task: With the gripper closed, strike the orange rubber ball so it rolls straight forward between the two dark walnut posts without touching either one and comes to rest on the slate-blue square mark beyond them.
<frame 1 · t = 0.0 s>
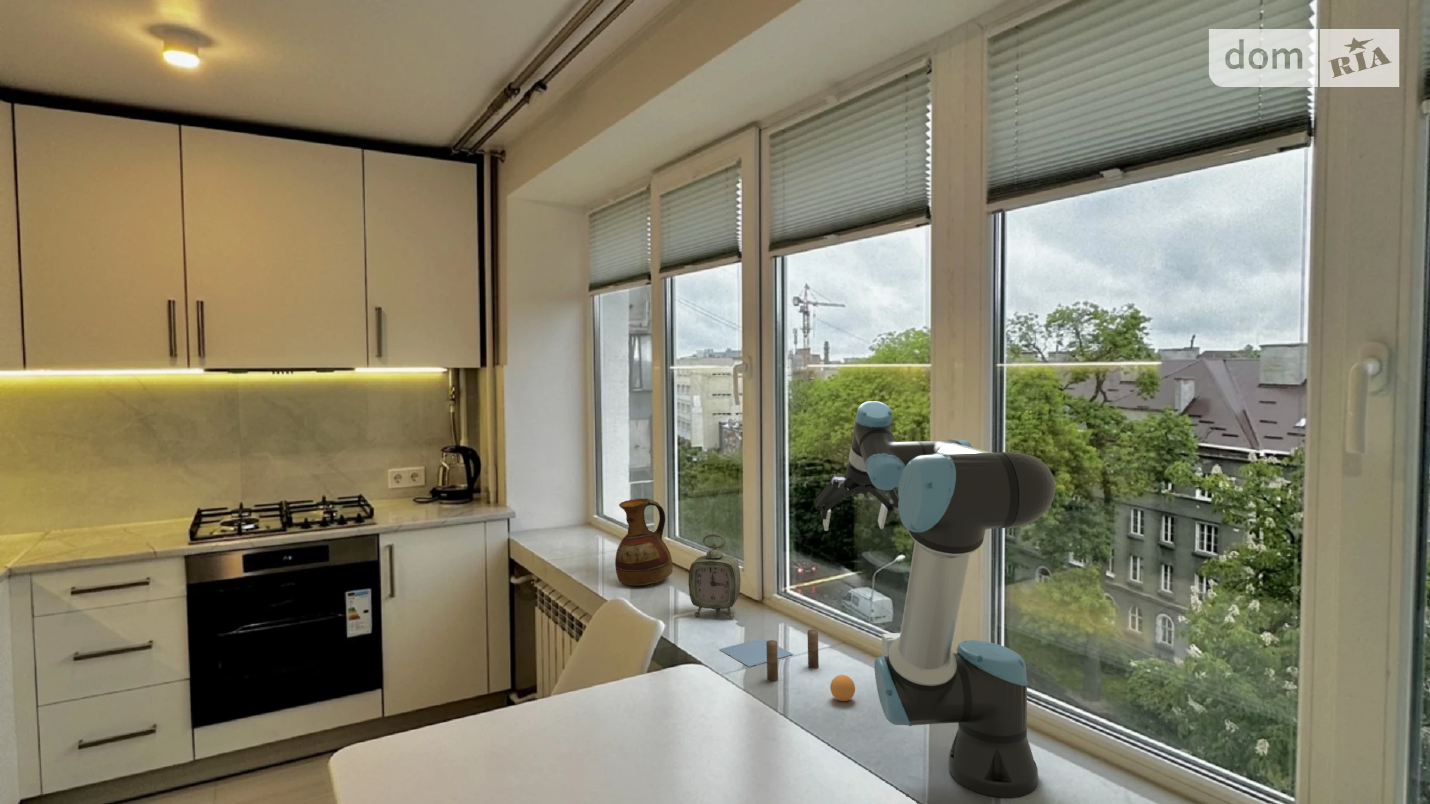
hand: (852, 525, 179), 36 cm above the breakfast bar, tool tilted 35°, fingers open, 13 cm apart
ceramic pitcher: (644, 582, 261), on the breakfast bar
right post: (813, 666, 183), on the breakfast bar
skincare box: (897, 687, 171), on the breakfast bar
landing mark: (755, 652, 193), on the breakfast bar
tabletop clock: (716, 615, 223), on the breakfast bar
left post: (772, 679, 176), on the breakfast bar
ball: (842, 687, 164), on the breakfast bar
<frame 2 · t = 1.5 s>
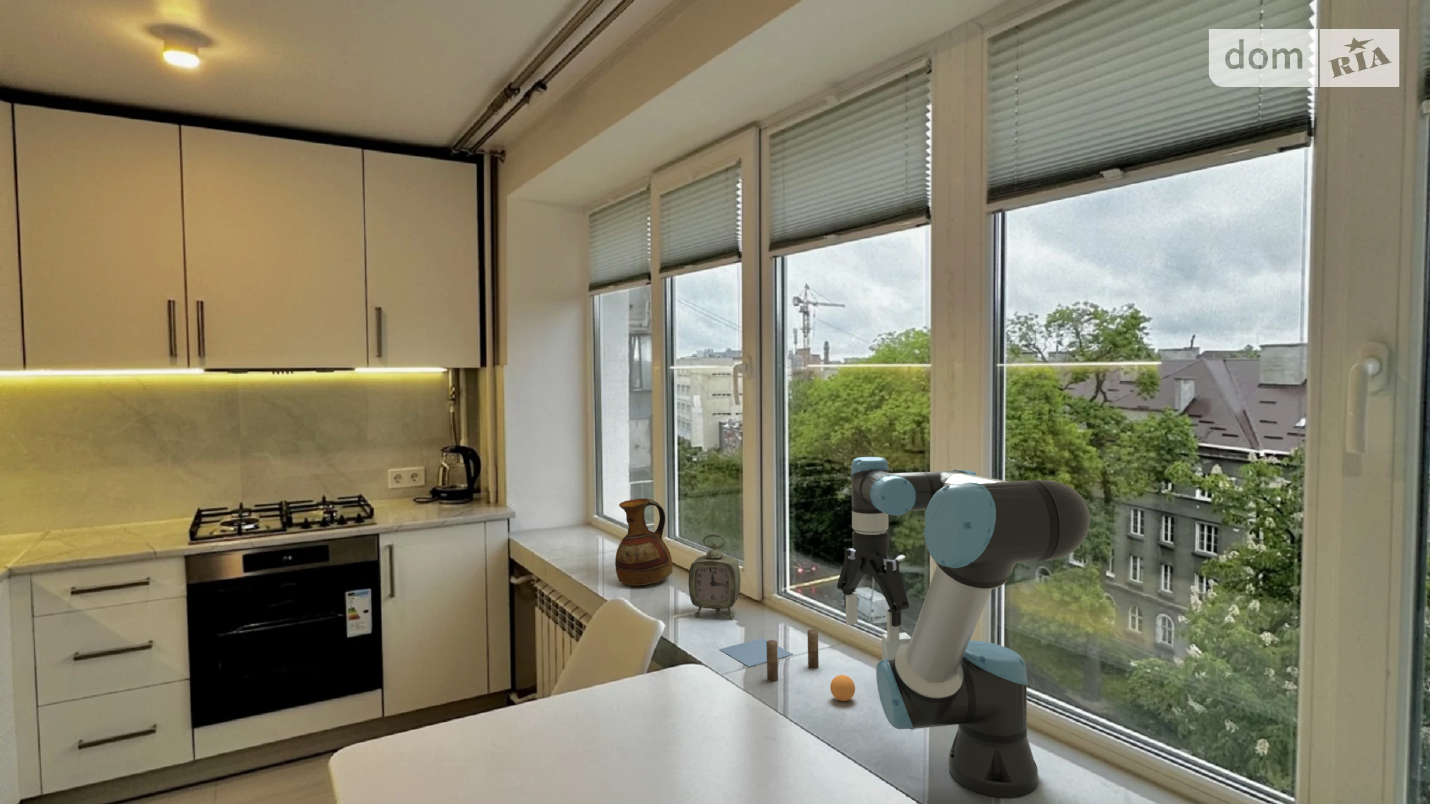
hand: (871, 632, 156), 18 cm above the breakfast bar, tool pointing down, fingers open, 12 cm apart
nothing on the breakfast bar moved.
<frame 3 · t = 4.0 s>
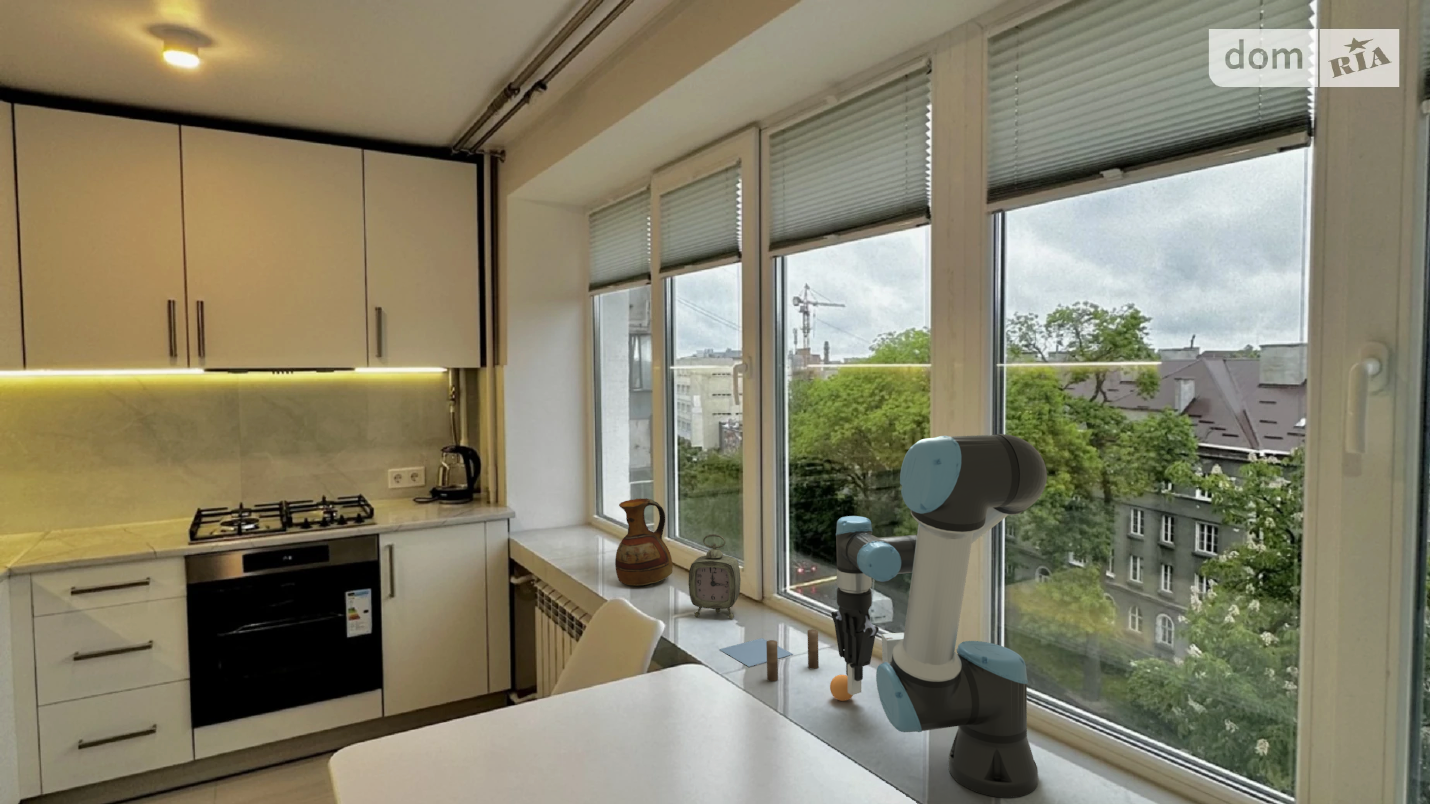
hand: (854, 692, 162), 3 cm above the breakfast bar, tool pointing down, fingers closed
ball: (842, 687, 164), on the breakfast bar, touching gripper
everything else where it was.
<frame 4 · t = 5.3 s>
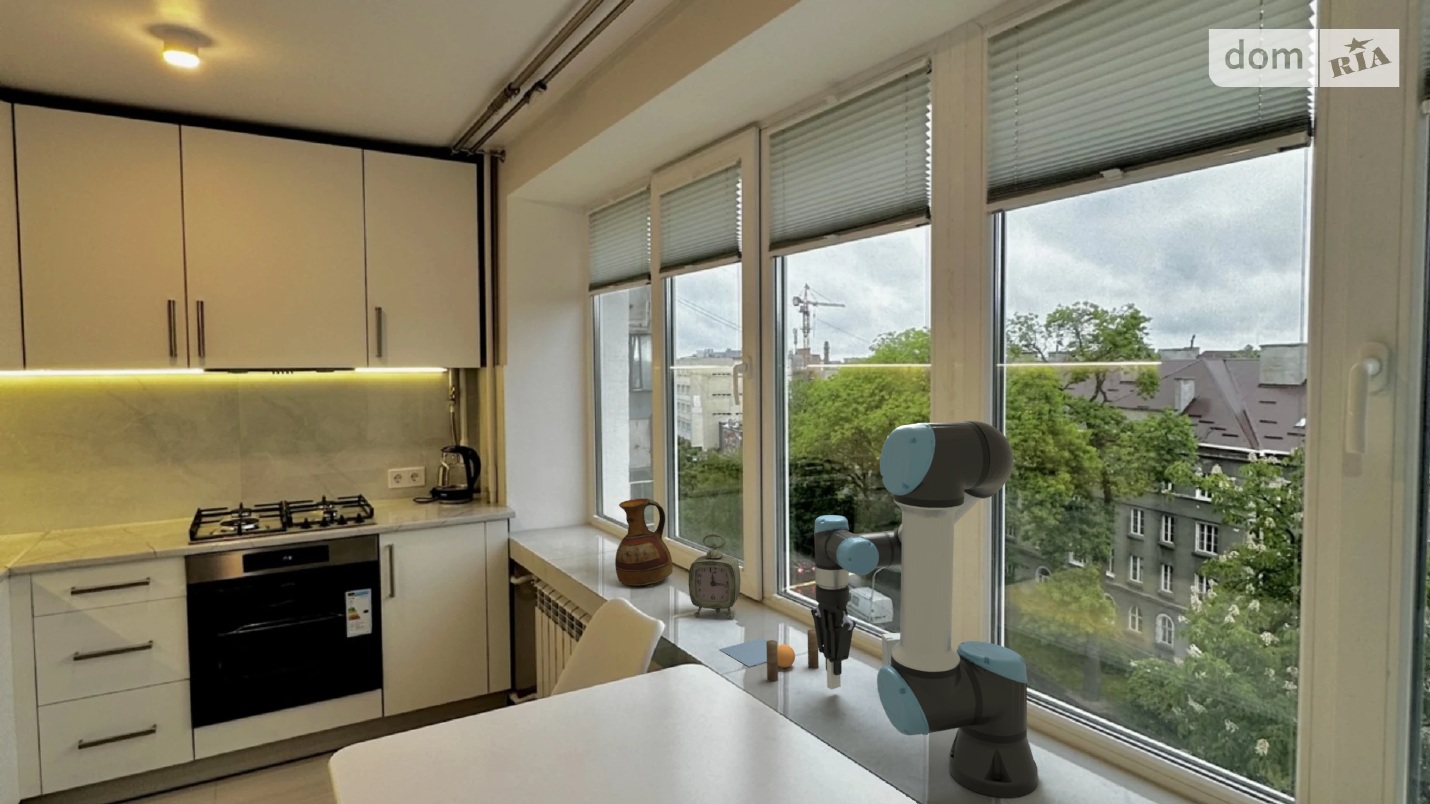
hand: (833, 686, 167), 2 cm above the breakfast bar, tool pointing down, fingers closed
ball: (784, 655, 183), on the breakfast bar
everything else where it was.
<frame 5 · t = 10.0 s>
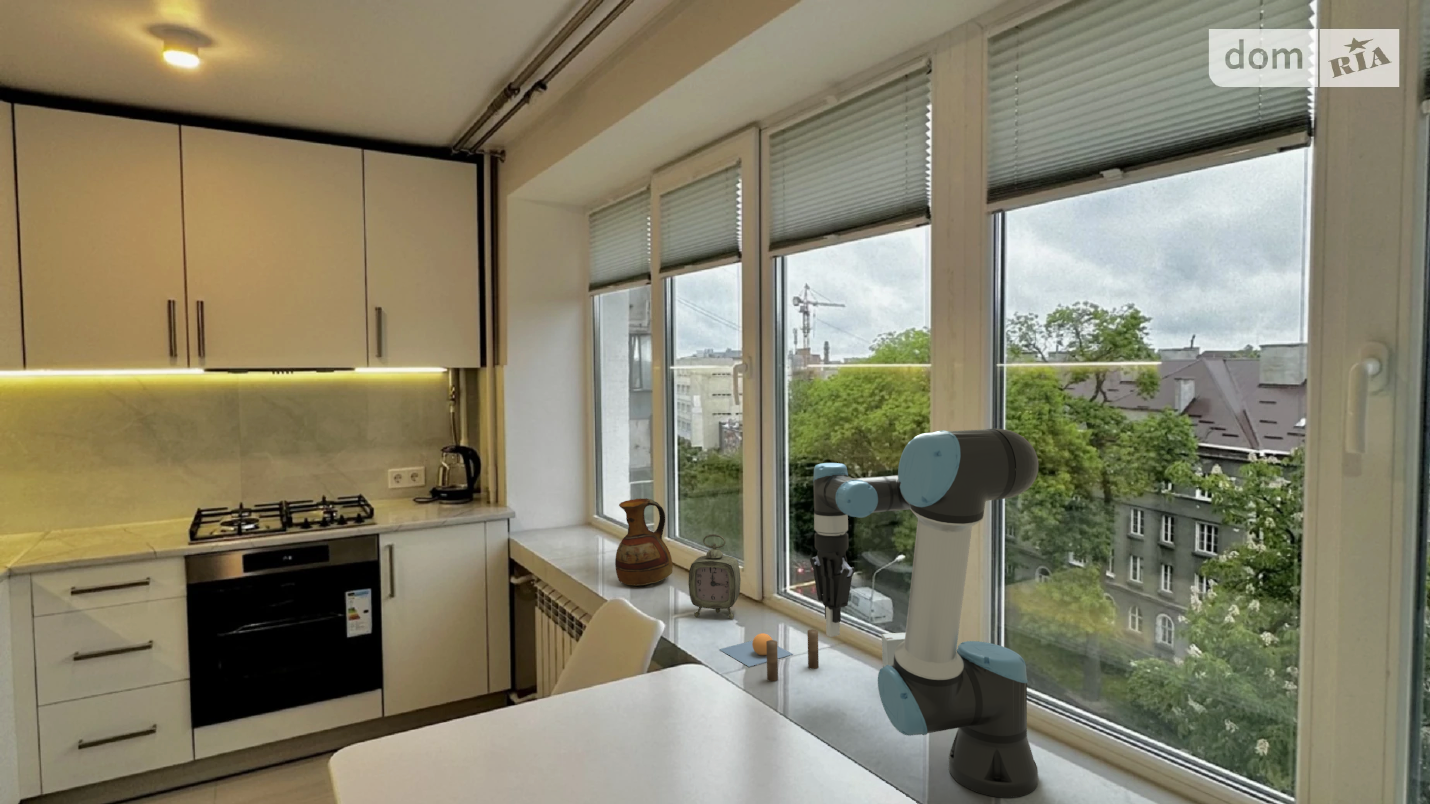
hand: (833, 634, 166), 14 cm above the breakfast bar, tool pointing down, fingers closed
ball: (762, 644, 191), on the breakfast bar
everything else where it was.
at the end: ball 2.5 cm from the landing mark (horizontally); ball never touched left post; ball never touched right post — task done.
